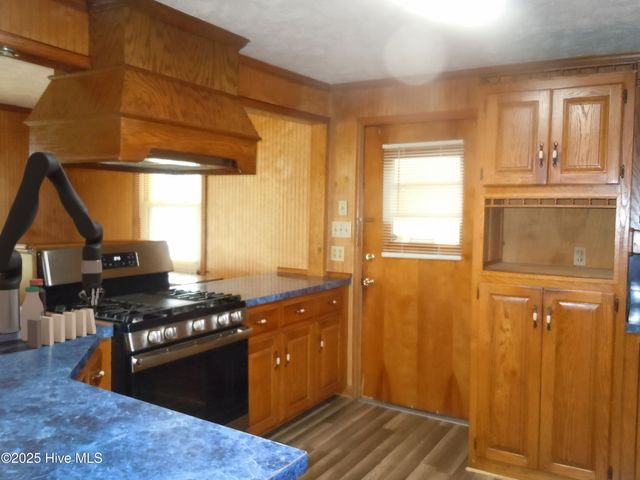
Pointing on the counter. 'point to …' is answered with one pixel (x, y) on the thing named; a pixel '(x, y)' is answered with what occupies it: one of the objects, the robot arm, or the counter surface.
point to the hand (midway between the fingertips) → (92, 314)
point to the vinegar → (41, 291)
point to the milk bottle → (30, 309)
